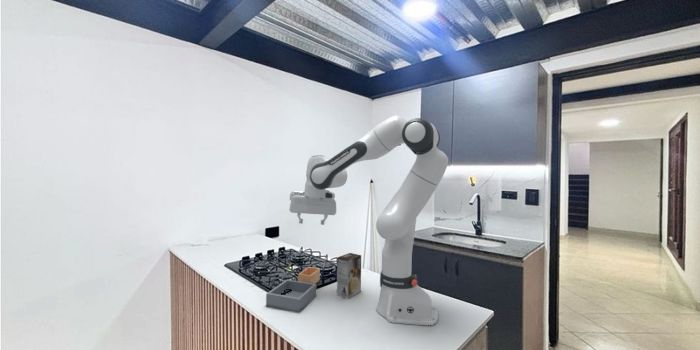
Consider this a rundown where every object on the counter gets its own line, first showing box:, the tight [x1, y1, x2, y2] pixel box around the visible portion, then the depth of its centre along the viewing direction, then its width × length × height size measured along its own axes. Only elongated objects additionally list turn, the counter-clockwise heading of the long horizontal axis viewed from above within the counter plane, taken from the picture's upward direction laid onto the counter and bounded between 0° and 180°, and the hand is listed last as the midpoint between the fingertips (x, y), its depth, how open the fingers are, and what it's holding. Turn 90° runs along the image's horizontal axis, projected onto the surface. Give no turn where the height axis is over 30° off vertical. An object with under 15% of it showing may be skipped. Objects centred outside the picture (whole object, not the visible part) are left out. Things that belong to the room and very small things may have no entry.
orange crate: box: [297, 266, 321, 284], centre depth 129 cm, size 6×10×6 cm, turn 163°
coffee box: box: [336, 252, 362, 299], centre depth 121 cm, size 9×6×16 cm
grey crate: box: [265, 279, 318, 314], centre depth 113 cm, size 14×15×5 cm
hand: (311, 223), depth 124 cm, fingers open, 8 cm apart
